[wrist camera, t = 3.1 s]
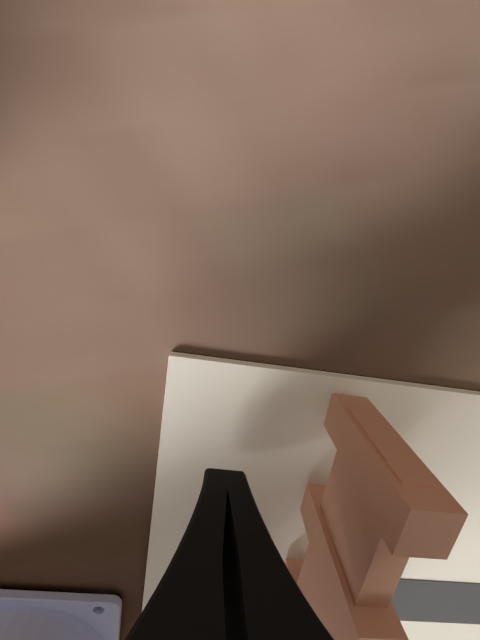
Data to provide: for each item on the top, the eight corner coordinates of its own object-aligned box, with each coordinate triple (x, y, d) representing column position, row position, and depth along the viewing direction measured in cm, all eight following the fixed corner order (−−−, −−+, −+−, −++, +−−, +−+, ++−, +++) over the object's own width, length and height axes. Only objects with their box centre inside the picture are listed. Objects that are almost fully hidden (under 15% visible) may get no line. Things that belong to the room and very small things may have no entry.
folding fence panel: (308, 583, 14) (351, 760, 10) (279, 581, 14) (308, 760, 9) (367, 395, 12) (470, 511, 7) (332, 390, 11) (412, 506, 7)
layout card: (133, 699, 17) (130, 711, 17) (170, 351, 11) (168, 356, 11) (477, 706, 20) (482, 716, 19) (660, 414, 14) (674, 420, 13)
